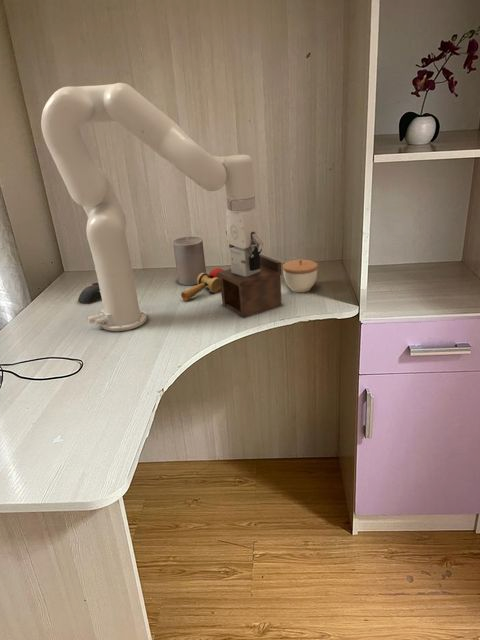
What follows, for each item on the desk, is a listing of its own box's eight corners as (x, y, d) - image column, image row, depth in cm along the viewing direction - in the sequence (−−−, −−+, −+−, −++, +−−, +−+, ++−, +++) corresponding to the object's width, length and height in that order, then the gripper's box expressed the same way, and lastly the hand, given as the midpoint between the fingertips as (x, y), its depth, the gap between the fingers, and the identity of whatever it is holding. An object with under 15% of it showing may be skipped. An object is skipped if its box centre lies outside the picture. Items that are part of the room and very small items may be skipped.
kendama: (196, 307, 160) (235, 282, 170) (189, 288, 157) (229, 263, 168) (180, 306, 165) (219, 281, 176) (173, 288, 162) (213, 264, 173)
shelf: (242, 318, 148) (238, 273, 142) (221, 305, 157) (216, 263, 151) (283, 305, 154) (281, 262, 148) (260, 294, 163) (257, 253, 157)
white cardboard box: (231, 273, 150) (228, 248, 147) (246, 267, 154) (244, 242, 151) (246, 277, 146) (244, 251, 143) (261, 271, 150) (259, 246, 147)
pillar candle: (185, 275, 184) (180, 232, 177) (211, 276, 181) (206, 233, 174) (173, 284, 175) (166, 240, 169) (199, 286, 173) (194, 241, 166)
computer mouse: (63, 298, 170) (61, 286, 168) (108, 281, 182) (106, 270, 180) (86, 305, 163) (83, 293, 161) (131, 288, 175) (128, 276, 173)
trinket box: (316, 295, 160) (316, 265, 155) (281, 294, 162) (280, 265, 157) (319, 282, 169) (319, 254, 165) (286, 282, 171) (285, 254, 167)
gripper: (213, 201, 146) (218, 261, 154) (246, 211, 133) (251, 276, 141) (236, 197, 150) (240, 256, 158) (271, 206, 137) (274, 269, 145)
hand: (245, 265), depth 149 cm, fingers open, 9 cm apart
